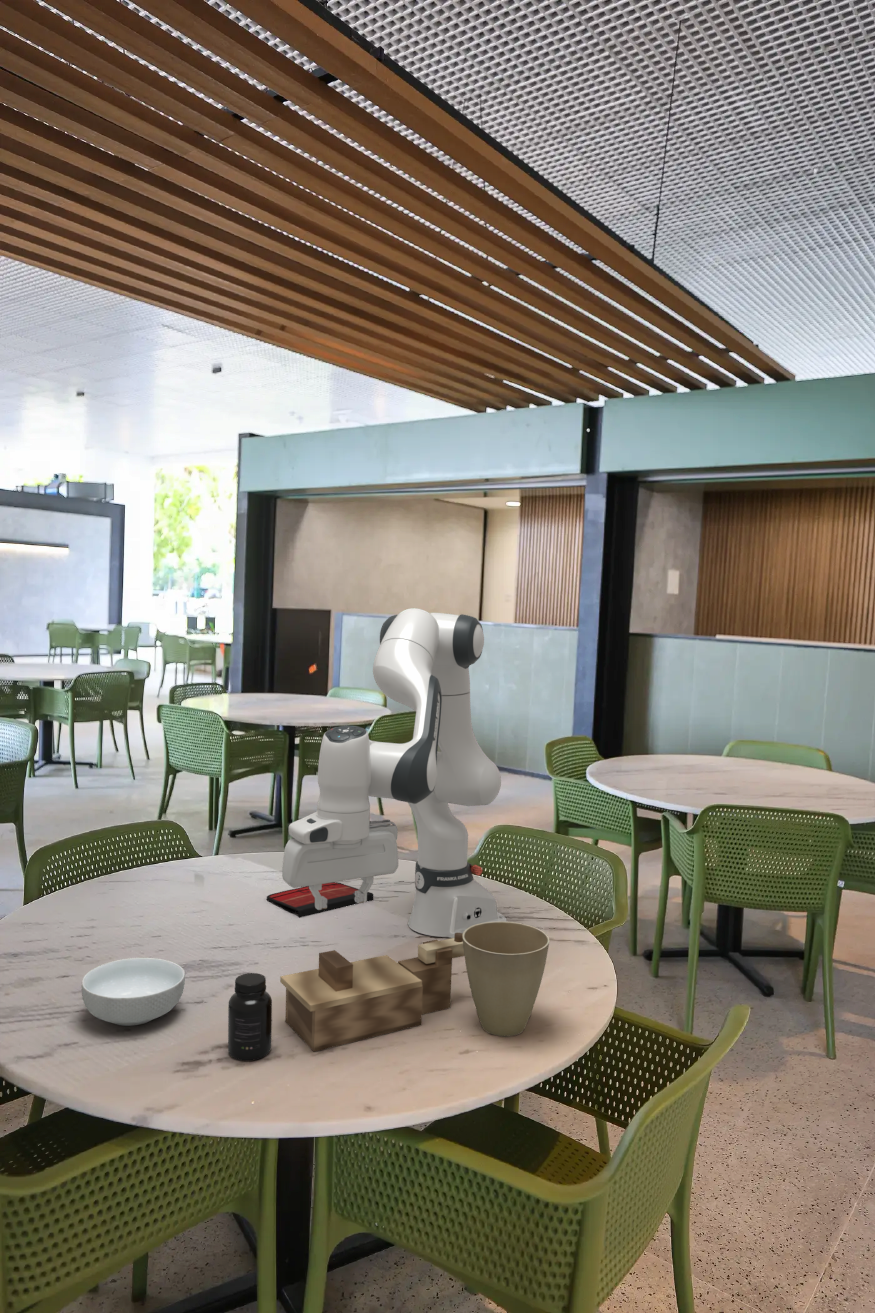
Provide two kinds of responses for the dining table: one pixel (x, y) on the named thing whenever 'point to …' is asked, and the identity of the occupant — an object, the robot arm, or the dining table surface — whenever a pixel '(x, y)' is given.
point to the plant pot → (504, 972)
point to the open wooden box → (375, 1008)
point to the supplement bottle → (249, 1018)
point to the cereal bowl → (133, 990)
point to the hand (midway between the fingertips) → (340, 905)
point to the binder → (305, 901)
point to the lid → (348, 980)
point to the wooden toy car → (441, 948)
